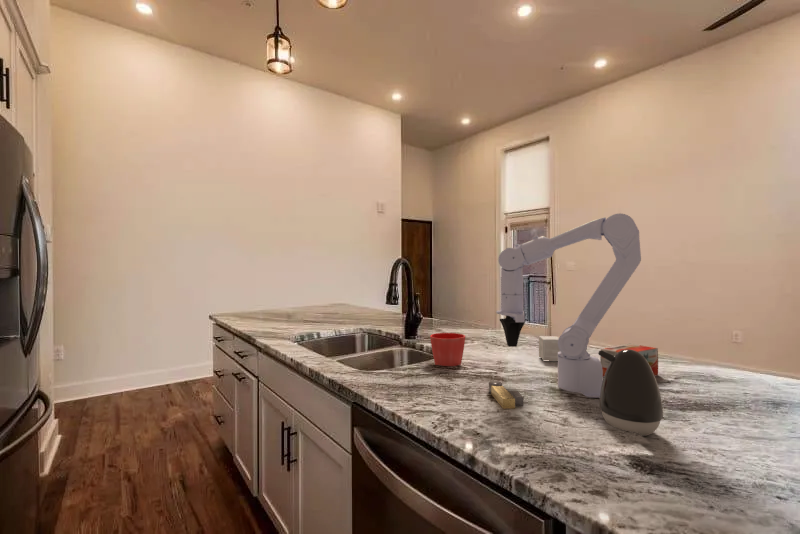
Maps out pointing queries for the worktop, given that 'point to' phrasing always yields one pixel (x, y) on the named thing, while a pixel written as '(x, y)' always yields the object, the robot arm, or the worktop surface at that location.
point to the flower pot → (447, 348)
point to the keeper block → (517, 398)
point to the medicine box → (647, 352)
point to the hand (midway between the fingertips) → (512, 346)
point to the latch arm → (501, 395)
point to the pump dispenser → (630, 393)
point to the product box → (548, 348)
